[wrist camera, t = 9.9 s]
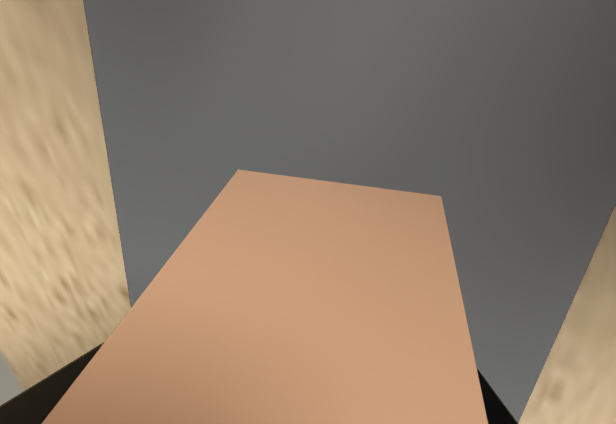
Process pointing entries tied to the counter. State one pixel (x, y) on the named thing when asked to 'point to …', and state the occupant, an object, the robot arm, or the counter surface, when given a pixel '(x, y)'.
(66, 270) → the counter surface
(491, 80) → the mat
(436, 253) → the block
